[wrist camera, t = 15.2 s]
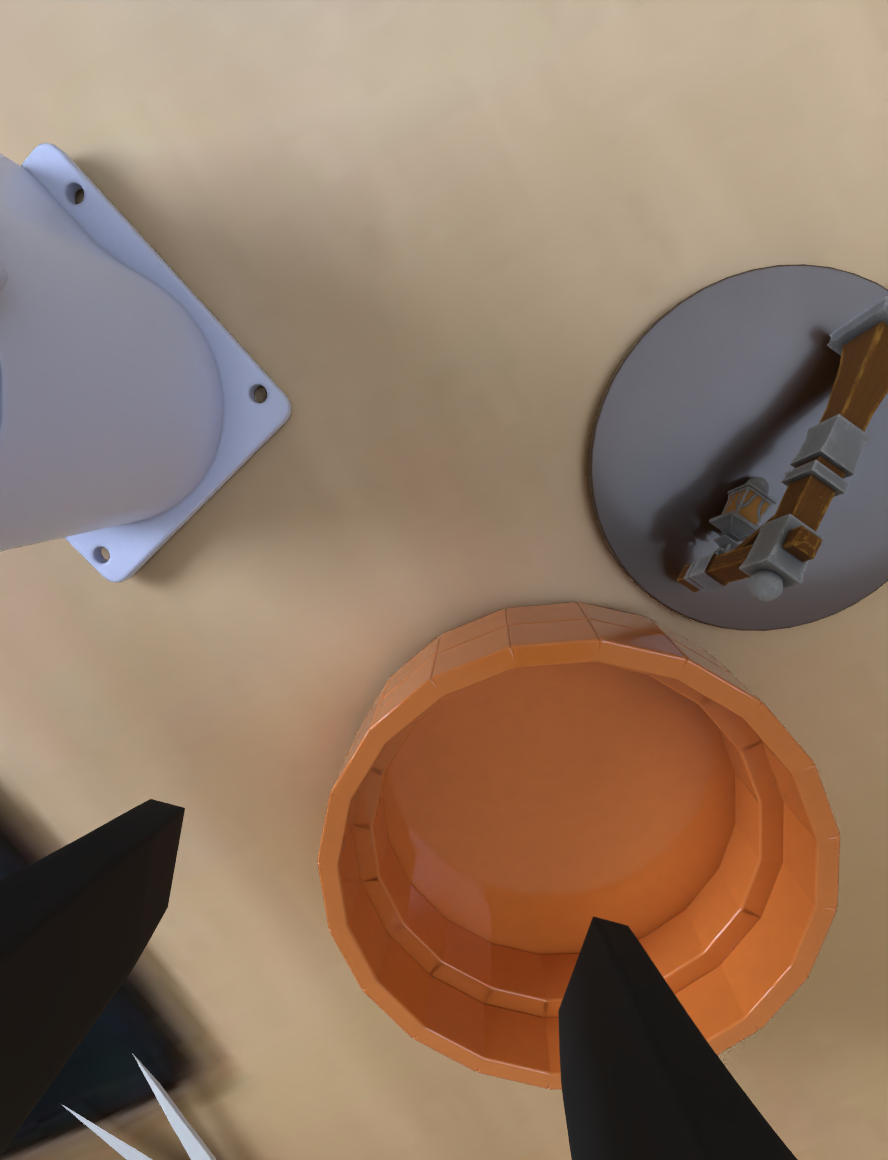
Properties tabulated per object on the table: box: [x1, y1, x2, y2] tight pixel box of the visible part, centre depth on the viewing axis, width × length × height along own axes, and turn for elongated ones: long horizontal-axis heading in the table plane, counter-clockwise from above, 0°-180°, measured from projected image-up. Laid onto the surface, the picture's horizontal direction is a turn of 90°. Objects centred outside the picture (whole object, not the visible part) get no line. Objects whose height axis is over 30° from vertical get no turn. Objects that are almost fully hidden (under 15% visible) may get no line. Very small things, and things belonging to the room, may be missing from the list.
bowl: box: [317, 602, 840, 1089], centre depth 18 cm, size 14×14×4 cm
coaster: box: [588, 264, 888, 631], centre depth 17 cm, size 10×10×1 cm
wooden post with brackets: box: [677, 296, 888, 602], centre depth 16 cm, size 2×8×4 cm, turn 147°
